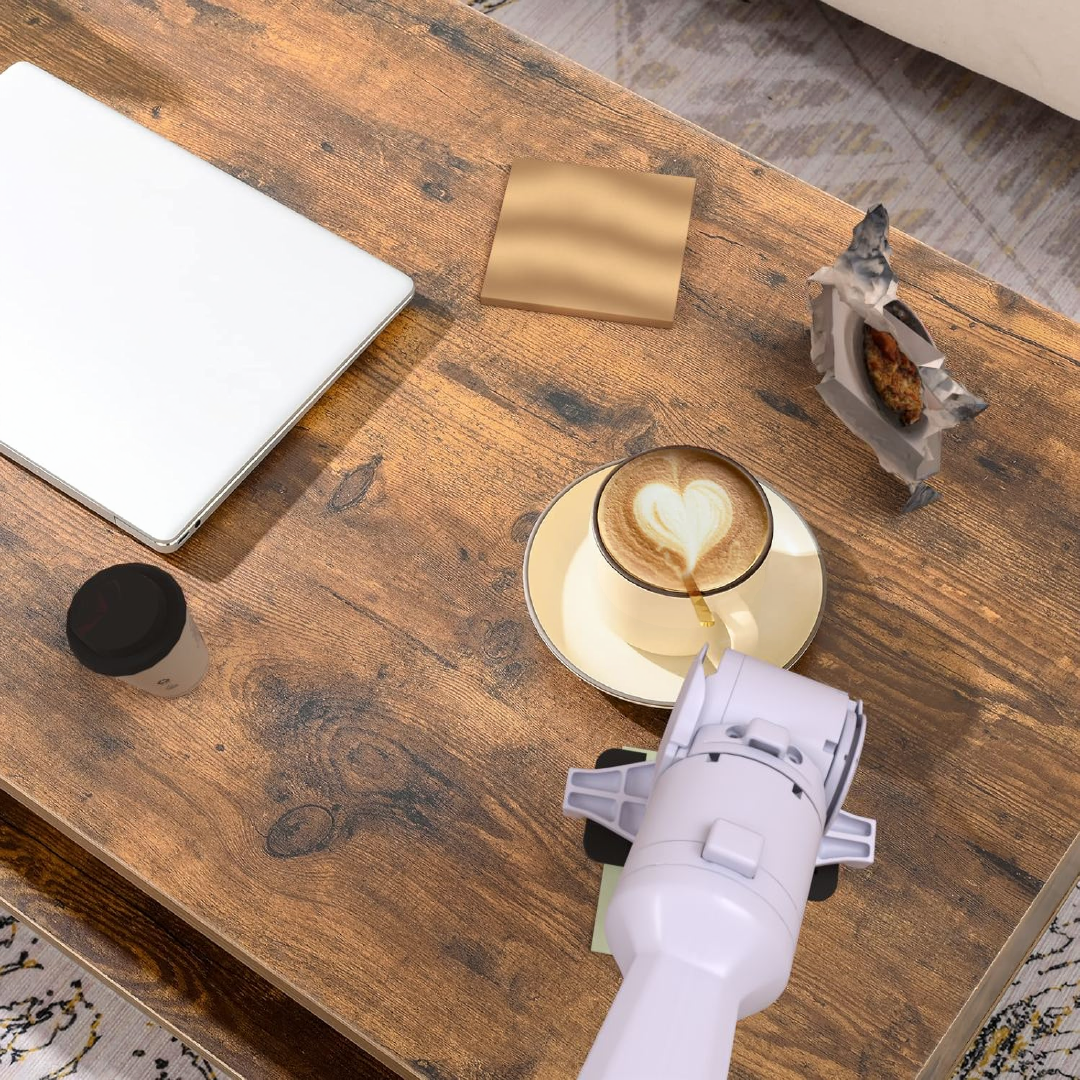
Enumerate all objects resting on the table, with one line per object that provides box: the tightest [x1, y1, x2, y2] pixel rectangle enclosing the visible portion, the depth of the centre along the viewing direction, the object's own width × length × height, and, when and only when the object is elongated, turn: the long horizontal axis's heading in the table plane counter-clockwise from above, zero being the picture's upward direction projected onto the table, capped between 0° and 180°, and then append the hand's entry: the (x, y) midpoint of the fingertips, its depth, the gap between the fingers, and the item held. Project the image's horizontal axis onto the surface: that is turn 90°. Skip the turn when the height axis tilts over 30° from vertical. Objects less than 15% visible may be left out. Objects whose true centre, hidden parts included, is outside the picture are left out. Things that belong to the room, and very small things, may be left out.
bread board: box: [479, 156, 697, 330], centre depth 86 cm, size 13×14×1 cm
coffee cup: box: [65, 561, 211, 699], centre depth 69 cm, size 7×7×10 cm
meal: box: [801, 202, 993, 516], centre depth 73 cm, size 15×4×13 cm, turn 24°
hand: (699, 845), depth 63 cm, fingers open, 7 cm apart
